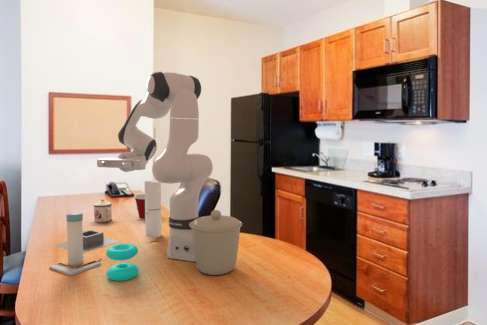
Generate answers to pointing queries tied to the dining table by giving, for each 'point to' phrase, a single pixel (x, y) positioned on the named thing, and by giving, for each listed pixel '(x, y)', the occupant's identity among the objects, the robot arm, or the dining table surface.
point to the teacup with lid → (102, 211)
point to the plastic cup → (140, 204)
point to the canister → (216, 243)
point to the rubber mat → (73, 270)
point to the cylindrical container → (153, 208)
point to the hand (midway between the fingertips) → (112, 164)
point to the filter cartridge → (75, 238)
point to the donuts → (122, 269)
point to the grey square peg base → (93, 240)
